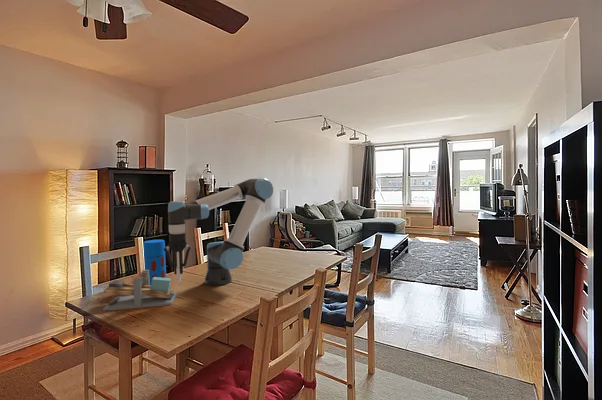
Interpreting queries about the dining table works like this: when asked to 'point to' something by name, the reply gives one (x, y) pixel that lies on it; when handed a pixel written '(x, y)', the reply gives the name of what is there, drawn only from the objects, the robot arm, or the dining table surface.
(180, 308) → the dining table surface
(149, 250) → the thermos
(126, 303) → the stand
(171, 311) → the dining table surface
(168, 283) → the block
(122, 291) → the beam
